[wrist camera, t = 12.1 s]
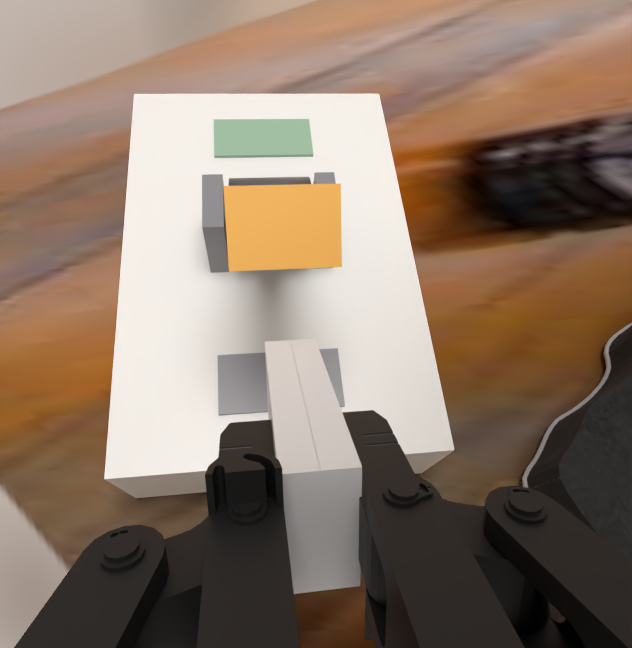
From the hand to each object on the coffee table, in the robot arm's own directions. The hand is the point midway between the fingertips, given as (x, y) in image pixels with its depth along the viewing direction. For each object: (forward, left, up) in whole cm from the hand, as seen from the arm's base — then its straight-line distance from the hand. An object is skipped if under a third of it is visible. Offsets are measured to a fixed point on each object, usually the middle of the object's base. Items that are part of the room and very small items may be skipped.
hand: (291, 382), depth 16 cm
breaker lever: (0, -13, -8) cm, 15 cm away
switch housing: (0, -11, -15) cm, 19 cm away
